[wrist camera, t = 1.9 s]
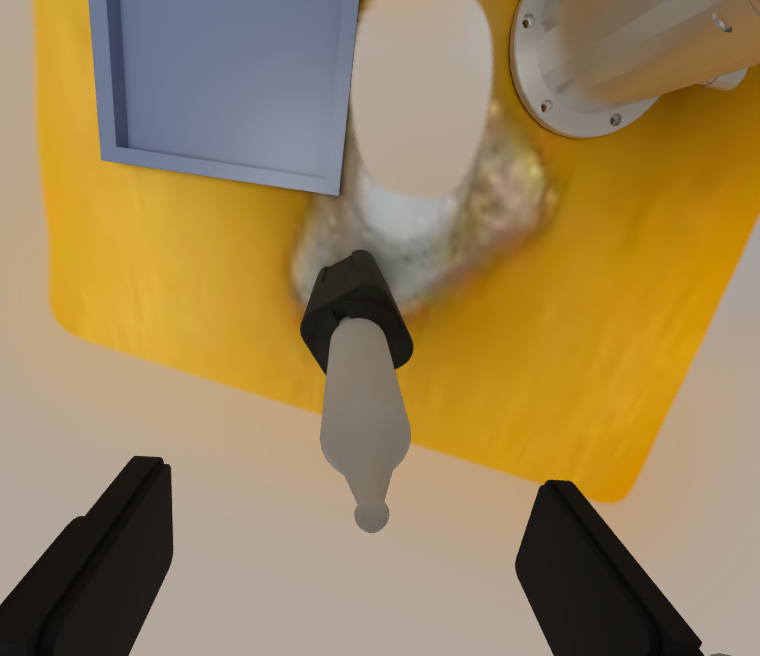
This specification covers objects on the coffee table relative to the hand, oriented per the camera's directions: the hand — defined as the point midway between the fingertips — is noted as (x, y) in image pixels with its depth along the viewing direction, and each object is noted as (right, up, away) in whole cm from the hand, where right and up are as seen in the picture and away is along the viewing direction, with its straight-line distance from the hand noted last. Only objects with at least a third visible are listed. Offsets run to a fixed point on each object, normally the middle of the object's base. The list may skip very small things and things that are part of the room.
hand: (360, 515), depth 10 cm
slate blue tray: (-9, +23, +17) cm, 30 cm away
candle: (-2, +8, +23) cm, 25 cm away
